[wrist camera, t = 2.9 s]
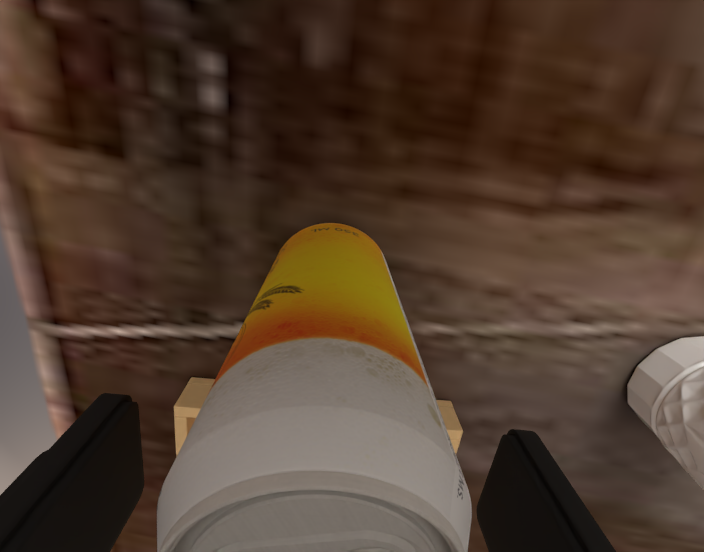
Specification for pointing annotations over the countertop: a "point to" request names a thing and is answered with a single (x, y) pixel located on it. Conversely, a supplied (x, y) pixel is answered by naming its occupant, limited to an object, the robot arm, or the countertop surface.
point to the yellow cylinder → (319, 421)
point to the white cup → (674, 400)
